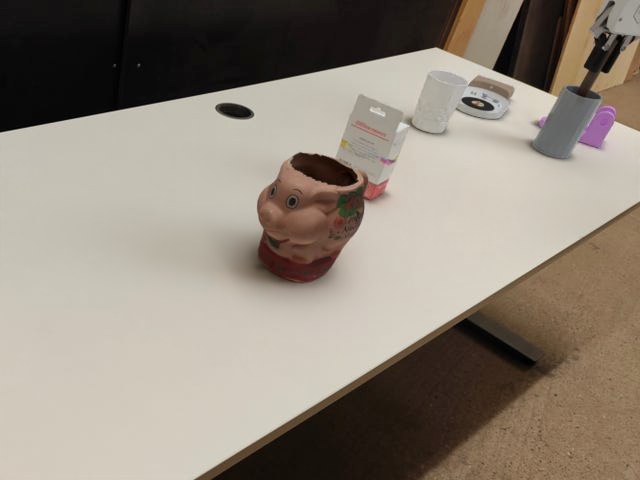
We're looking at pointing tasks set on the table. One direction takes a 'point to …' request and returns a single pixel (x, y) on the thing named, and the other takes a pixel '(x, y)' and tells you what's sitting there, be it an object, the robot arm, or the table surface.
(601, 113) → the bracket
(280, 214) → the decorative planter
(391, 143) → the ink cartridge box
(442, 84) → the white cup
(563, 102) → the grey cylindrical holder
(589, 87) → the brush
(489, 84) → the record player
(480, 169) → the table surface
